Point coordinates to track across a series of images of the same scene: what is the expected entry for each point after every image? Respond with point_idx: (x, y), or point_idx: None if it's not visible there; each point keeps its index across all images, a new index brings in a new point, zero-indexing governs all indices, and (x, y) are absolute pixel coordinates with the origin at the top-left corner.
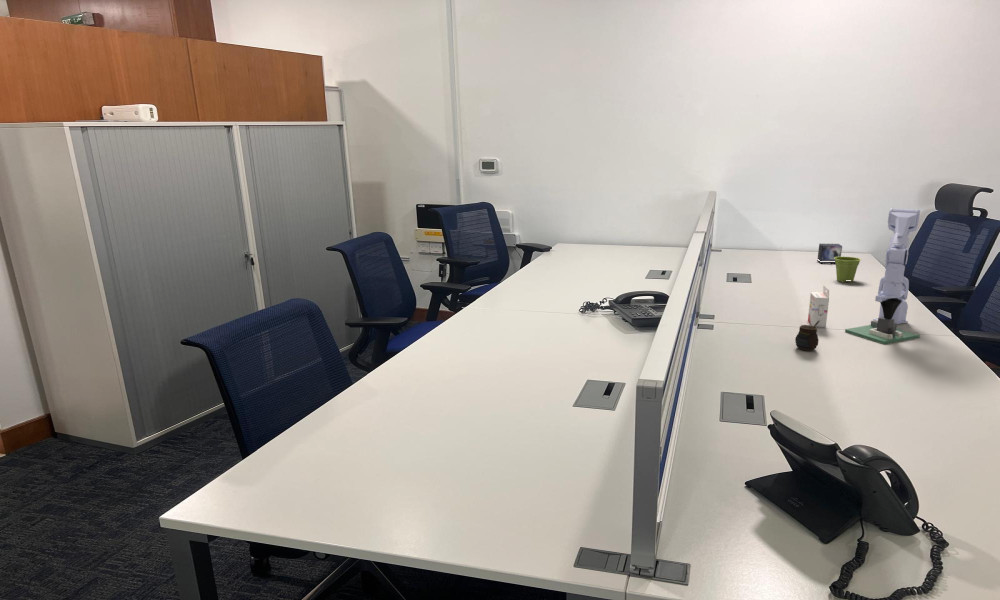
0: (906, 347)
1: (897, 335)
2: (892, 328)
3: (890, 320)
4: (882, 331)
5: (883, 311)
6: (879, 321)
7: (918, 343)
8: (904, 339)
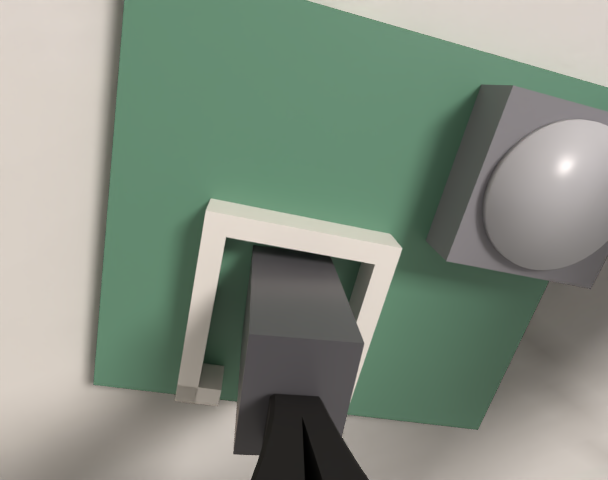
0: (175, 466)
1: None
2: None
3: None
4: (245, 315)
5: (257, 466)
6: (247, 329)
7: None
8: None
